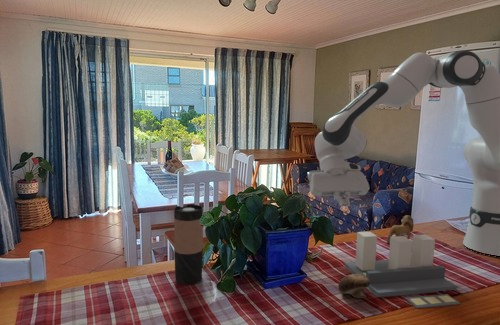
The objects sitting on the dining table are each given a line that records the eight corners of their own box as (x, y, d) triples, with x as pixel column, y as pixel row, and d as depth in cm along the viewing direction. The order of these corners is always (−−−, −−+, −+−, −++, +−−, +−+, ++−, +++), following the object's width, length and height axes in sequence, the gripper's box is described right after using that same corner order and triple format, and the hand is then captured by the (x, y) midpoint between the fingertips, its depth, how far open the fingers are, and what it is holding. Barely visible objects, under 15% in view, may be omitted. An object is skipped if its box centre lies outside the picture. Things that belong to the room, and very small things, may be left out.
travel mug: (197, 287, 90) (197, 212, 87) (169, 283, 91) (168, 210, 88) (206, 274, 97) (206, 205, 94) (181, 271, 98) (180, 203, 96)
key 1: (367, 263, 102) (369, 231, 101) (374, 269, 99) (377, 236, 97) (355, 264, 102) (357, 232, 100) (362, 270, 98) (364, 236, 96)
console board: (412, 261, 108) (413, 249, 108) (456, 290, 91) (458, 275, 90) (344, 266, 104) (345, 253, 103) (377, 297, 86) (378, 281, 86)
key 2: (422, 267, 101) (425, 234, 100) (431, 273, 97) (435, 239, 96) (410, 267, 100) (413, 234, 99) (419, 274, 96) (422, 239, 95)
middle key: (400, 269, 99) (403, 236, 98) (409, 275, 95) (412, 241, 94) (387, 270, 98) (390, 236, 97) (396, 276, 94) (399, 241, 93)
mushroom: (378, 294, 82) (366, 268, 84) (346, 305, 82) (335, 279, 85) (373, 294, 89) (363, 270, 91) (344, 304, 89) (334, 280, 92)
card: (446, 295, 88) (447, 293, 88) (460, 304, 84) (460, 302, 84) (405, 298, 86) (405, 297, 86) (416, 308, 82) (417, 307, 82)
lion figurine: (401, 235, 133) (403, 212, 132) (415, 239, 129) (417, 216, 128) (383, 244, 123) (385, 220, 122) (397, 248, 119) (400, 223, 118)
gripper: (308, 165, 116) (318, 200, 108) (364, 165, 120) (377, 199, 112) (303, 176, 121) (312, 210, 112) (357, 175, 125) (369, 209, 116)
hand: (345, 205), depth 112 cm, fingers closed
